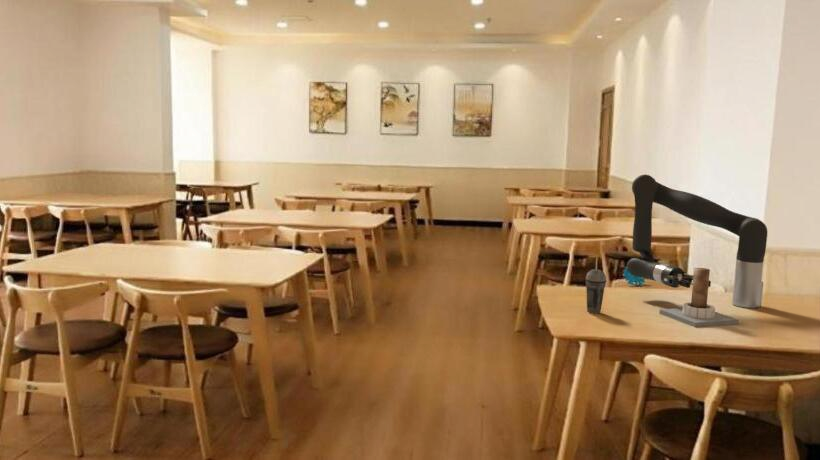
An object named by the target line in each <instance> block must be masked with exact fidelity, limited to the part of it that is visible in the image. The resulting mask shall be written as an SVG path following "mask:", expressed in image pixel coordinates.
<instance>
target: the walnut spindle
mask: <svg viewBox="0 0 820 460" xmlns="http://www.w3.org/2000/svg"><path fill="white" fill-rule="evenodd" d="M710 272H711V270H710V269H709V268H707V267H693V275H694V276H693V280H692V283H693V285H692V288H691V289H692V290H691V301H690V303H691V307H695V308H703V309H705V308H707V304H708V294H709V287H708V286H709V281H710V274H711V273H710Z"/></svg>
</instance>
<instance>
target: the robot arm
mask: <svg viewBox="0 0 820 460" xmlns="http://www.w3.org/2000/svg"><path fill="white" fill-rule="evenodd" d="M631 190H632V193H633V196H634V220H633V228H632V243H631V244H632V245H631V247H632V250H633V251H634V252H638V253H639V254H640V257H632V258H630V259H629V260H628V261H627V263H626V267H627V269H626V270H628V271H627V272H629V273H630V274H631V275H633V276H636V277H642V278H646V279H649V280H651V281H654V282H657V283H659V284H662V285H665V286H668V287H671V288H674V289H676V288H677V289H678V288H679V287H683V288H687V289H689V288H691V286H693V276H694V274H689V273H686V272H685V271H684V269H682V268H681V267H679V266H675V265H671V264H667V263H662V262H657V261H655V259H654V254H653V249H652V240H653V239H652V237H653V230H652V229H653V227H652V225H653V223H652V221H653V220H652V215H653V205H654V203H655V204H657V205H661V206H663V207H665V208H667V209H669V210H671V211H673V212H675V213H677V214H678V215H681V216H683V217H685V218H688V219H691V220H693V221H695V222H698V223H701V224H704V225H708V226H711V227H716V228H720V229H723V230H726V231H728V232H730V233H731V234H734V235H736V236H738V237H739V238H738V246H737V252H736V259H735V269H734V281H733V290H732V301H731V302H732V303H731V304H732V305H734V306H736V307H739V308H740V307H741V308H748V309H756V307H758V308H759V307H762V302H763V301H762V300H763V291H764V281H762V280H763V271H764V270H763V269H764V261H765V256H766V251H767V250H766V249H767V242H768V227H767V225H766V224H765V223H764V222H763V221H762V220H761V219H759V218H755V217H751V216H748V215H745V214H740V213H737V212H735V211H732V210H729V209H728V208H725V207H724V206H722V205H720V204H718V203H716V202H715V201H712V200H710V199H707V198H705V197H702V196H700V195H697V194H694V193H691V192H687V191H684V190H678V189H673V188H671V187H669V186H666V185H663V184H661V183H660V182H657V181H656V179H655V178H654V177H653V176H651V175H649V174H641V175H638V176H636V178H635V179H634V180H633V181H632V185H631ZM711 283H712V282H711V280H709V286H708V288H710V287H711V286H712V285H711Z"/></svg>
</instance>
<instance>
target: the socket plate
mask: <svg viewBox="0 0 820 460" xmlns="http://www.w3.org/2000/svg"><path fill="white" fill-rule="evenodd" d="M658 312H659V314H660V315H663V316H665V317H668V318H670V319H673V320H675V321H679V322H681V323H683V324H685V325H688V326H690V327H693V326H694V328H698V327H701V328H702V327H715V326H717V327H718V326H727V325H731V326H732V325H739V324H740V323H739V322H740V319H737V318H734V317H732V316H729V315H726V314H723V313H720V312H717V311H716V307H715V306H714V305H711V304H708V303H707V308H705V309H703V308H695V307H691V302H685V303H683V304H682V307H679V308H659V311H658Z"/></svg>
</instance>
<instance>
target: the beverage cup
mask: <svg viewBox="0 0 820 460" xmlns="http://www.w3.org/2000/svg"><path fill="white" fill-rule="evenodd" d="M606 283H607V277H606V274H605V272H603V271H602V270H601V269H599V268H598V256H596V257H595V268H593V269H591V270H589V271H588V272H587V273H586V276H585V286H586V287H585V288H586V311H587V313H588V312H589V313H588V314H591V313H596V314H595V315H598V314H597V313H600V314H601V312H602V311H601V310H602V304H603V299H604V293H605V287H606Z"/></svg>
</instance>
